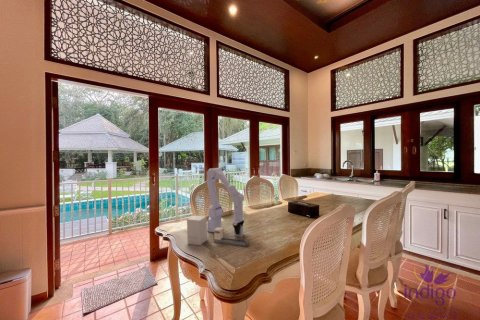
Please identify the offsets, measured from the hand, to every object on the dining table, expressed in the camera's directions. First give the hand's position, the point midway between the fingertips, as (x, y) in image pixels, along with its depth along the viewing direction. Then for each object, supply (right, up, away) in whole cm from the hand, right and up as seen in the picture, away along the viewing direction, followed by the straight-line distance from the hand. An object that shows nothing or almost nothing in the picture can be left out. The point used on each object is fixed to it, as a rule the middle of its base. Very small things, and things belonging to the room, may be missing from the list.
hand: (238, 232), depth 137 cm
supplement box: (-25, -2, -9) cm, 27 cm away
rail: (-5, -2, -12) cm, 13 cm away
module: (0, -2, 0) cm, 2 cm away
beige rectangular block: (-12, 0, -10) cm, 16 cm away
